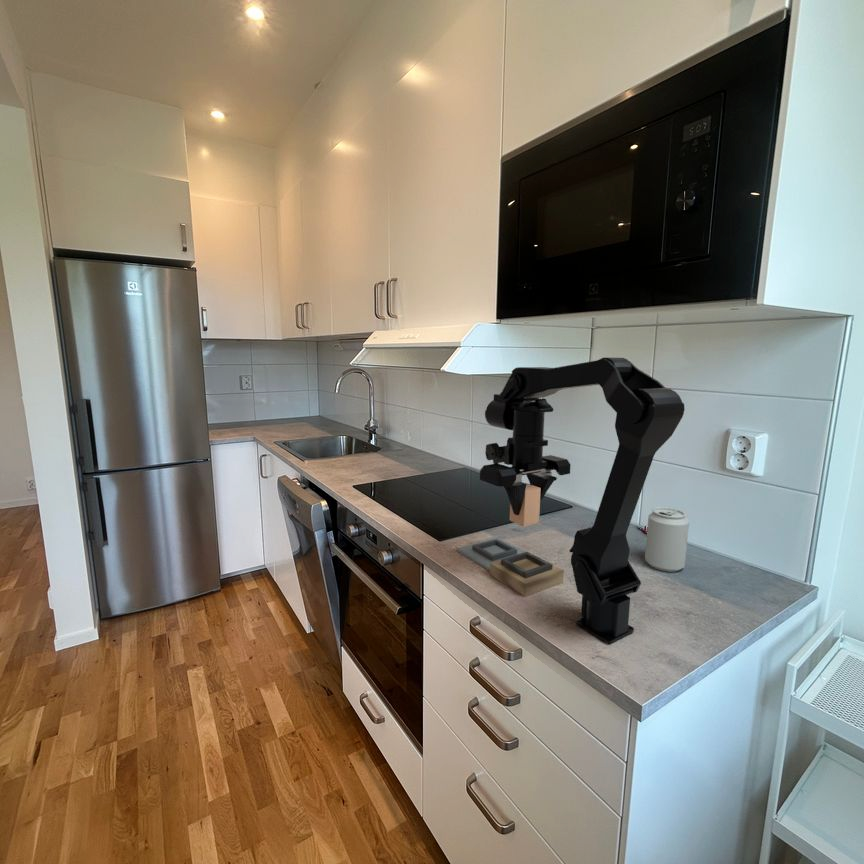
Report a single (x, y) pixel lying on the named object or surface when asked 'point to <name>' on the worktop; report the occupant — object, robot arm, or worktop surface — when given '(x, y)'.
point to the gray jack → (489, 551)
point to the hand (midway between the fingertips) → (524, 512)
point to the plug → (528, 507)
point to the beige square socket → (526, 573)
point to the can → (666, 539)
